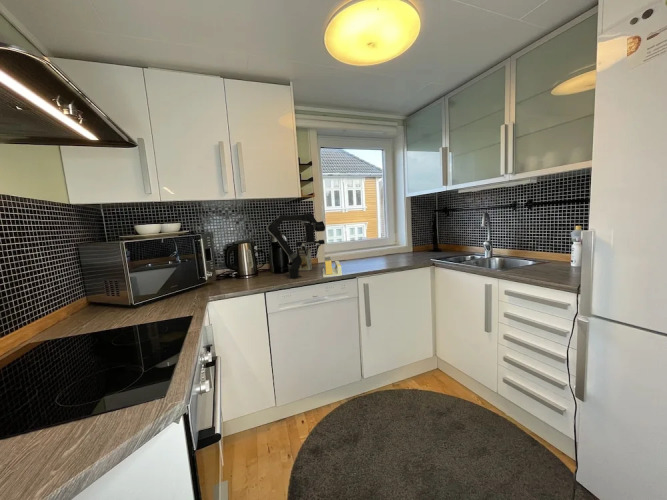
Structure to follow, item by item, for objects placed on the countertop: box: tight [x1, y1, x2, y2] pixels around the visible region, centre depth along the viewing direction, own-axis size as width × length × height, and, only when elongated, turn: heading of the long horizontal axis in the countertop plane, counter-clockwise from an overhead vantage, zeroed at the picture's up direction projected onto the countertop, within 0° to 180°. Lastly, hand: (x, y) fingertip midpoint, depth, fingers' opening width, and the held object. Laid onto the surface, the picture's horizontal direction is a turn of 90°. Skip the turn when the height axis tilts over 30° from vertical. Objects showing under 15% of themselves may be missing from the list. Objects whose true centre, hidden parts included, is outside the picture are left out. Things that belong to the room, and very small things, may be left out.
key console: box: [322, 260, 343, 278], centre depth 188 cm, size 12×28×6 cm, turn 3°
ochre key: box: [324, 260, 333, 274], centre depth 178 cm, size 4×6×8 cm, turn 3°
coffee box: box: [296, 247, 313, 271], centre depth 207 cm, size 9×6×16 cm
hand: (311, 255), depth 182 cm, fingers open, 6 cm apart
